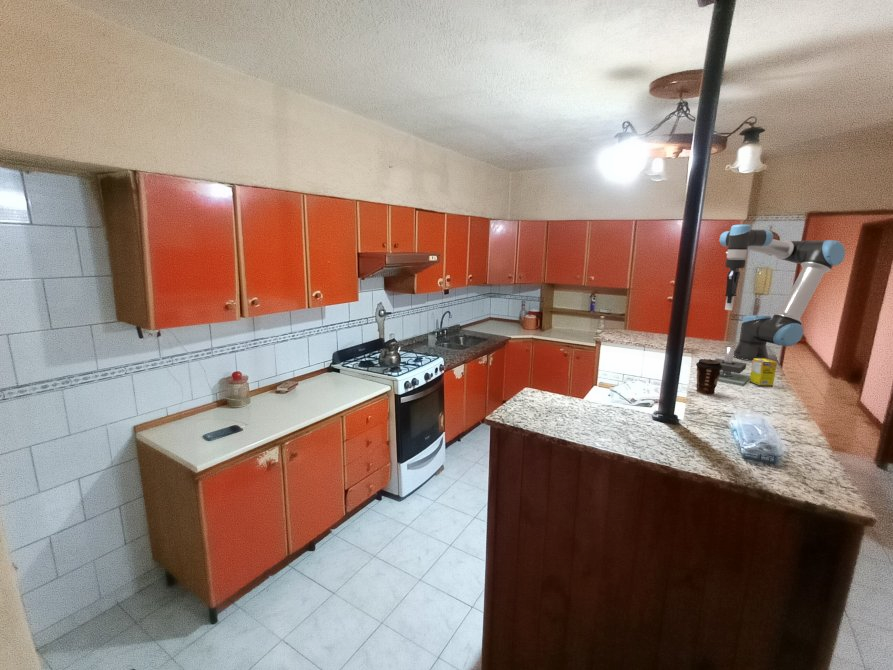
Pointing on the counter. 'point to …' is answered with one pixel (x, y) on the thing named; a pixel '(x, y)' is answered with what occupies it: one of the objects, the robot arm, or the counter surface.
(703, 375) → the coffee cup
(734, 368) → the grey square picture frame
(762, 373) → the supplement box
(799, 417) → the counter surface
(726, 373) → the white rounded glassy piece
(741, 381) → the base board
